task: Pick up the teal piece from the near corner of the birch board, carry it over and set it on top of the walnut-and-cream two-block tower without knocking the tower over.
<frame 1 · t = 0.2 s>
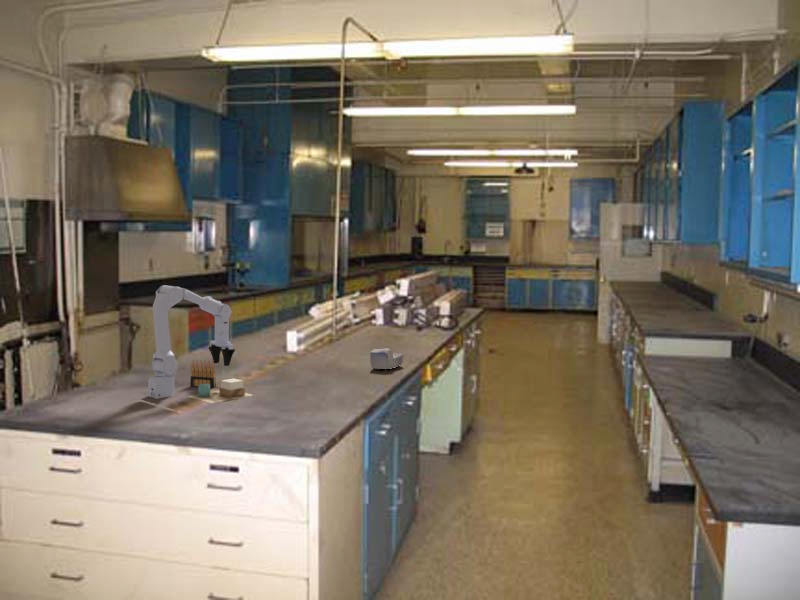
hand: (221, 364, 318), 10 cm above the worktop, tool pointing down, fingers open, 7 cm apart
tower base: (232, 395, 302), point 1 cm above the worktop, touching birch board, tower top
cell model: (386, 368, 372), on the worktop
tower top: (232, 387, 301), point 4 cm above the worktop, touching tower base
teal piece: (204, 396, 299), point 1 cm above the worktop, touching birch board
ammunition clip: (202, 389, 317), on the worktop
birch board: (220, 397, 301), on the worktop
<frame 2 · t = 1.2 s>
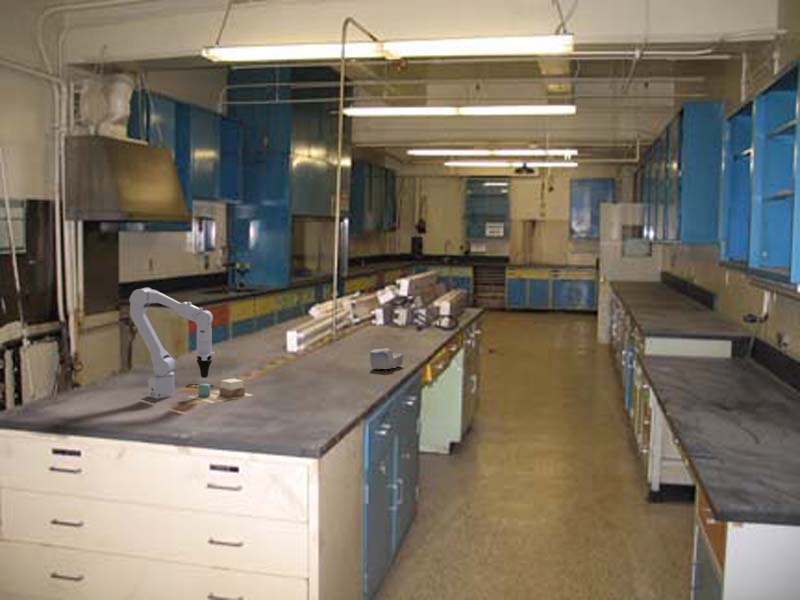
hand: (204, 375, 299), 9 cm above the worktop, tool pointing down, fingers open, 7 cm apart
ammunition clip: (201, 386, 316), point 1 cm above the worktop
everything else where it was.
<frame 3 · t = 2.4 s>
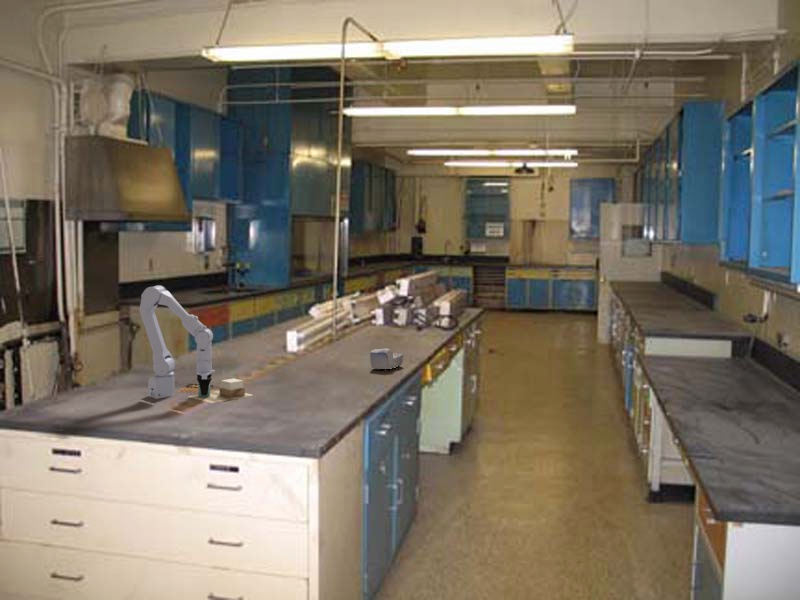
hand: (204, 393, 299), 2 cm above the worktop, tool pointing down, fingers closed on teal piece, 4 cm apart
teal piece: (204, 396, 299), point 1 cm above the worktop, touching birch board, gripper
everything else where it was.
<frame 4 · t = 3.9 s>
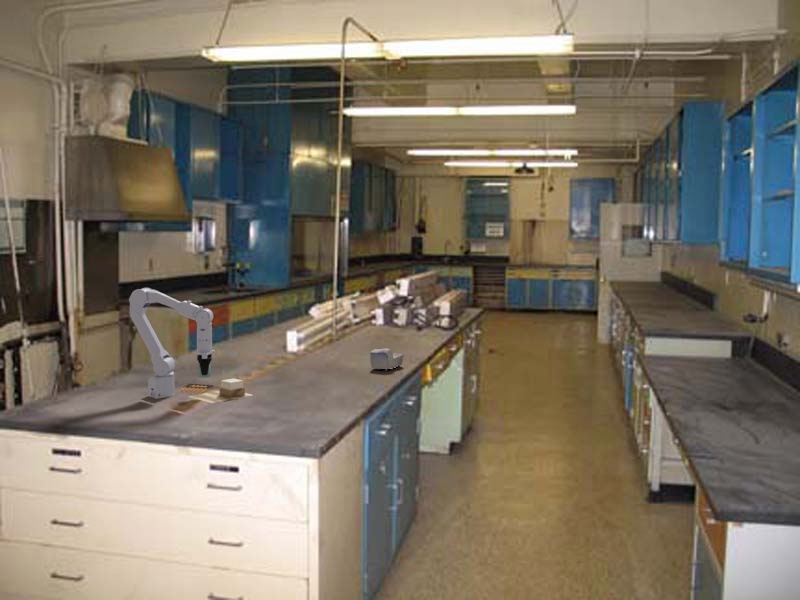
hand: (204, 373, 299), 10 cm above the worktop, tool pointing down, fingers closed on teal piece, 4 cm apart
teal piece: (204, 376, 299), point 9 cm above the worktop, touching gripper
everything else where it was.
when the fingers open (8 cm above the worktop, at t = 5.5 s): teal piece stays where it is, resting on tower top.
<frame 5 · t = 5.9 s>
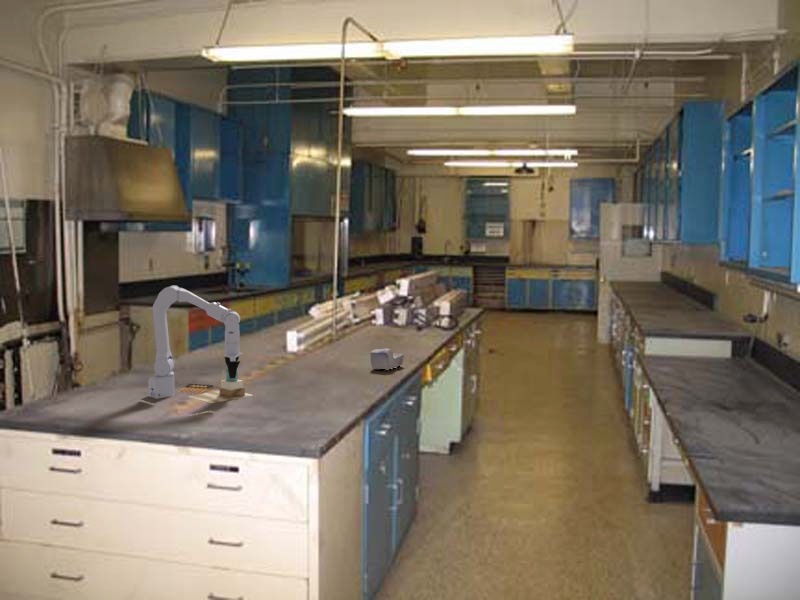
hand: (232, 376, 301), 9 cm above the worktop, tool pointing down, fingers open, 7 cm apart
tower top: (232, 387, 301), point 4 cm above the worktop, touching teal piece, tower base
teal piece: (232, 380, 301), point 7 cm above the worktop, touching tower top
everything else where it was.
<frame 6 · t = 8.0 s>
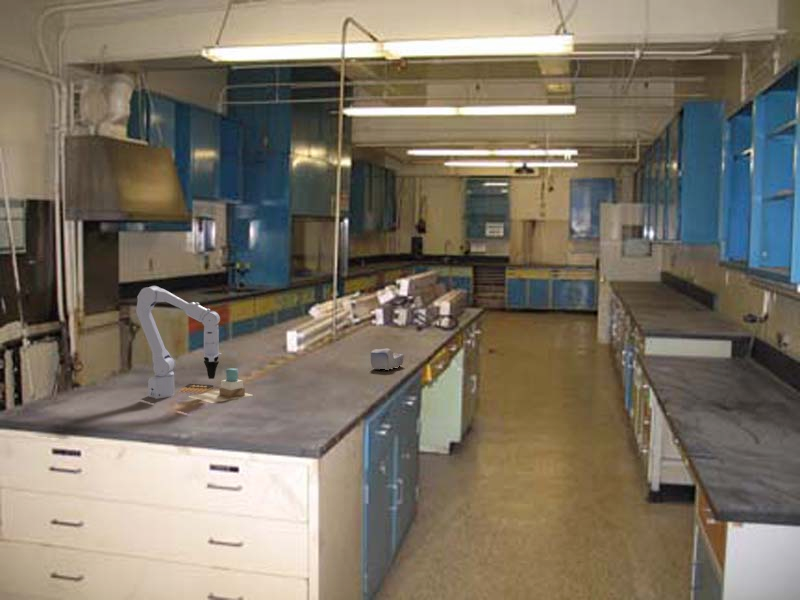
hand: (211, 376, 299), 9 cm above the worktop, tool pointing down, fingers open, 7 cm apart
nothing on the worktop moved.
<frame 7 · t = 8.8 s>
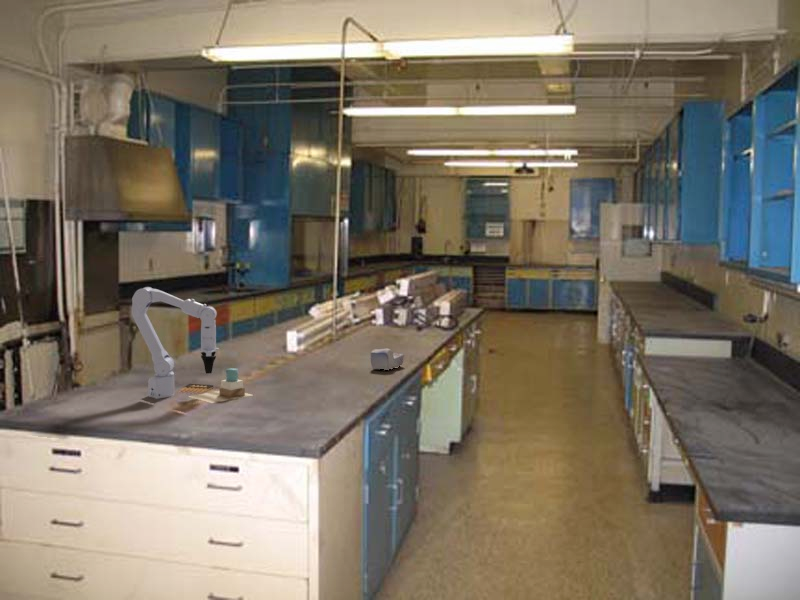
hand: (208, 371, 300), 10 cm above the worktop, tool pointing down, fingers open, 7 cm apart
nothing on the worktop moved.
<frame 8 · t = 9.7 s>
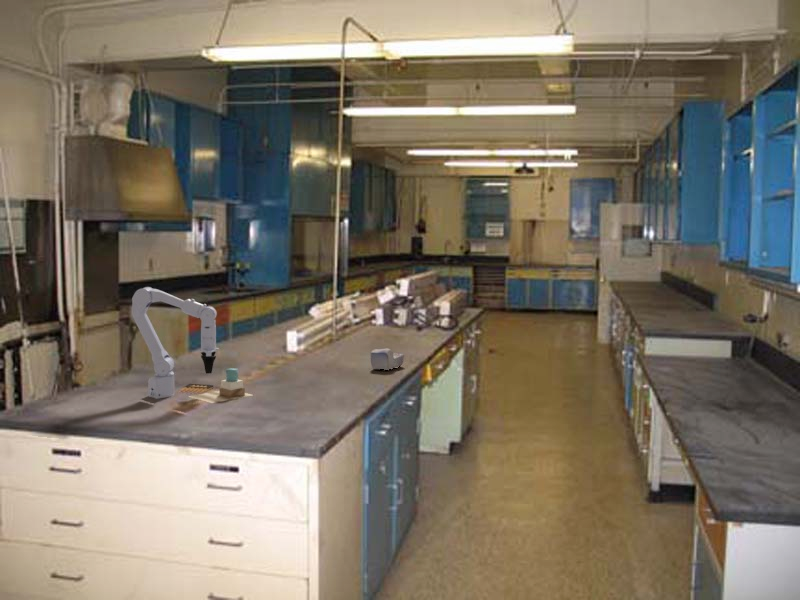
hand: (208, 371, 300), 10 cm above the worktop, tool pointing down, fingers open, 7 cm apart
nothing on the worktop moved.
at the end: teal piece 0.0 cm off-centre on the tower top, point 3.0 cm above the tower top's base; tower top 0.0 cm off-centre on the tower base, point 3.0 cm above the tower base's base; teal piece tilted 0° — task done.
